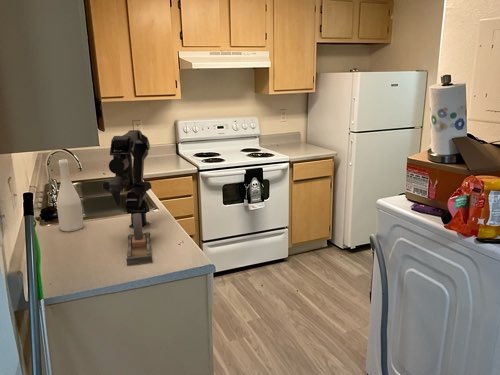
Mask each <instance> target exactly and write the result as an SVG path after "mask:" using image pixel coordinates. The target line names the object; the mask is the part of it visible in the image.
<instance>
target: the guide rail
mask: <svg viewBox="0 0 500 375" xmlns="http://www.w3.org/2000/svg"><path fill="white" fill-rule="evenodd" d="M143 235H145V238H146V246H144V247H135V248H133V246H132V236H134V233H133V234H132V233H131V234H130V233H129V234H128V235H127V254H126V258H125V259H126V266H136V265H142V264H150V263H153V258H152V257H153V256H152V244H151V243H152V242H151V232H143Z"/></svg>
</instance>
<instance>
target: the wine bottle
mask: <svg viewBox="0 0 500 375" xmlns="http://www.w3.org/2000/svg"><path fill="white" fill-rule="evenodd" d="M58 166H59V172H60V174H59V175H60V184H59V185H60V186H59V189H58V194H57V198H56V209H57V217H58V218H57V219H58V224H59V229H60V230H61V231H62V232H74V231H79V230H81V229H82V228H84V225H85V224H84V216H83V209H82V200H81V198H80V196H79V194H78V191H77V190H76V188H75V187H74V185H73V182H72V180H71V176H70V170H69V169H70V168H69V161H68V159H65V158H64V159H63V158H62V159H59V160H58Z"/></svg>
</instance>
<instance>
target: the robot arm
mask: <svg viewBox="0 0 500 375" xmlns="http://www.w3.org/2000/svg"><path fill="white" fill-rule="evenodd" d="M110 141H111V143H110V150H109V156H112V159H111V160H110V161H109V162H108V169H109V171H110V172H111V173H112V174H115V177H113V178H110V179H108V180H107V179H106V180H104V181H103V182H102V184H101V185H102V190H105V191H106V192H108V193H110V194H111V196H112V197H113V199H114V201H115V203H116V205H117V206H121V192H122V191H123V190H124V189H130V191H128V192H127V194H126V200H125V204H124V205H125V210H126V214H130V222H131V223H130V225H128V227H129V228H133V218H132V214H134V213H141V219H142V229H143V228H144V227H146V226H148V225H150V222H147V214H148V213H150V210H151V209H150V205H149V202H148V201H147V197H146V193H147V192H148V191H150V190H151V189H152V183H151V182H150V181H144V172H145V171H144V167H145V159H146V158H147V157H148V155H149V150H150V148H151V145H150V141H149V138H148V136H146V135H144V134H143V133H142V131H141V130H139V129H133V130H132V129H131V130H128V131H127V132H126V133H124V134H123V135H113V137H112V138H111V140H110ZM132 157H133V158H132Z"/></svg>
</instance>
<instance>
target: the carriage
mask: <svg viewBox="0 0 500 375" xmlns="http://www.w3.org/2000/svg"><path fill="white" fill-rule="evenodd" d="M132 218H133V227H132V228H133V234H134V236H132V246H133V248H135V247H144V246H146V238H145V235H143V233H144V230H143V228H142V219H141V213H134V214H132Z"/></svg>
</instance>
